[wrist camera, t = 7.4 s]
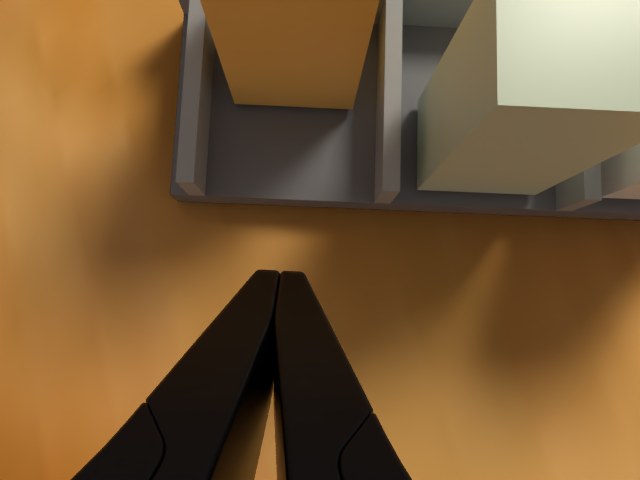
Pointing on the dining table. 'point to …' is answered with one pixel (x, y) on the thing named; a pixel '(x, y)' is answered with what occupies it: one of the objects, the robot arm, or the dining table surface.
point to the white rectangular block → (622, 175)
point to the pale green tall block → (530, 95)
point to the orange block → (292, 49)
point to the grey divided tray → (343, 133)
